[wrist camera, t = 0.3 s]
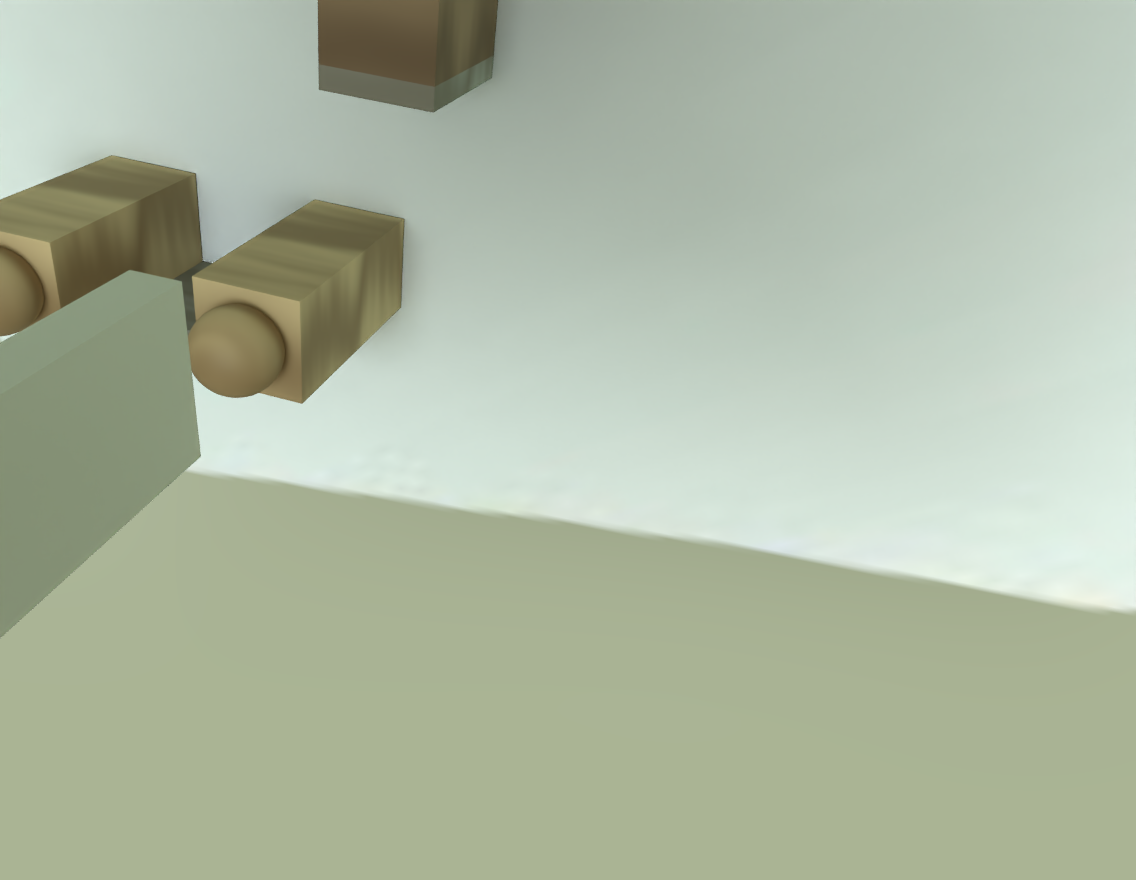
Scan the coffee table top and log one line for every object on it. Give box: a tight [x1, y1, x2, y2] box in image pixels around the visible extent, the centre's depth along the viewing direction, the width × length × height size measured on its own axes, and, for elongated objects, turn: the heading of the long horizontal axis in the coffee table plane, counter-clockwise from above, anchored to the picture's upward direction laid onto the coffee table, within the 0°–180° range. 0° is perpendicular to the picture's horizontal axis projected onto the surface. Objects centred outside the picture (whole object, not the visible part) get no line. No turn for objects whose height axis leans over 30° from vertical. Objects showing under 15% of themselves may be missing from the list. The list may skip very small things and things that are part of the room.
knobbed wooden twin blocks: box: [0, 155, 404, 403], centre depth 38 cm, size 5×14×11 cm, turn 82°
